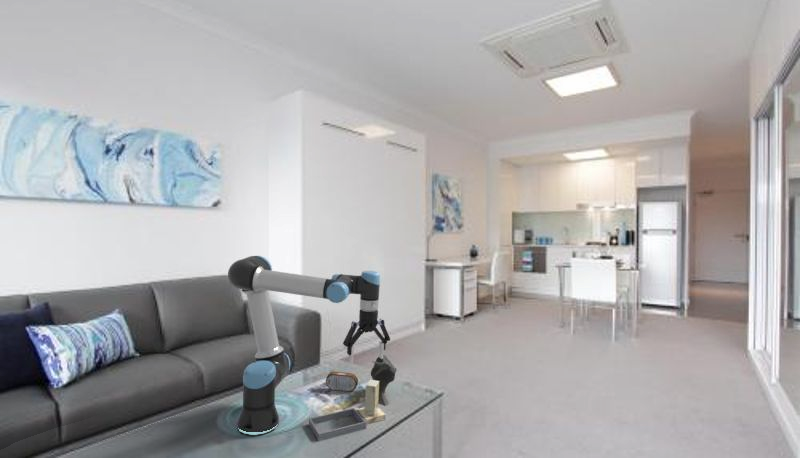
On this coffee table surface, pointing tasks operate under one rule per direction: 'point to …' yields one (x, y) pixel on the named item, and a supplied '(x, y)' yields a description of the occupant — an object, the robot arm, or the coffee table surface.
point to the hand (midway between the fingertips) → (366, 360)
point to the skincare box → (371, 397)
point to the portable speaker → (341, 381)
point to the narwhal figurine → (383, 376)
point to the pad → (369, 418)
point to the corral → (338, 431)
